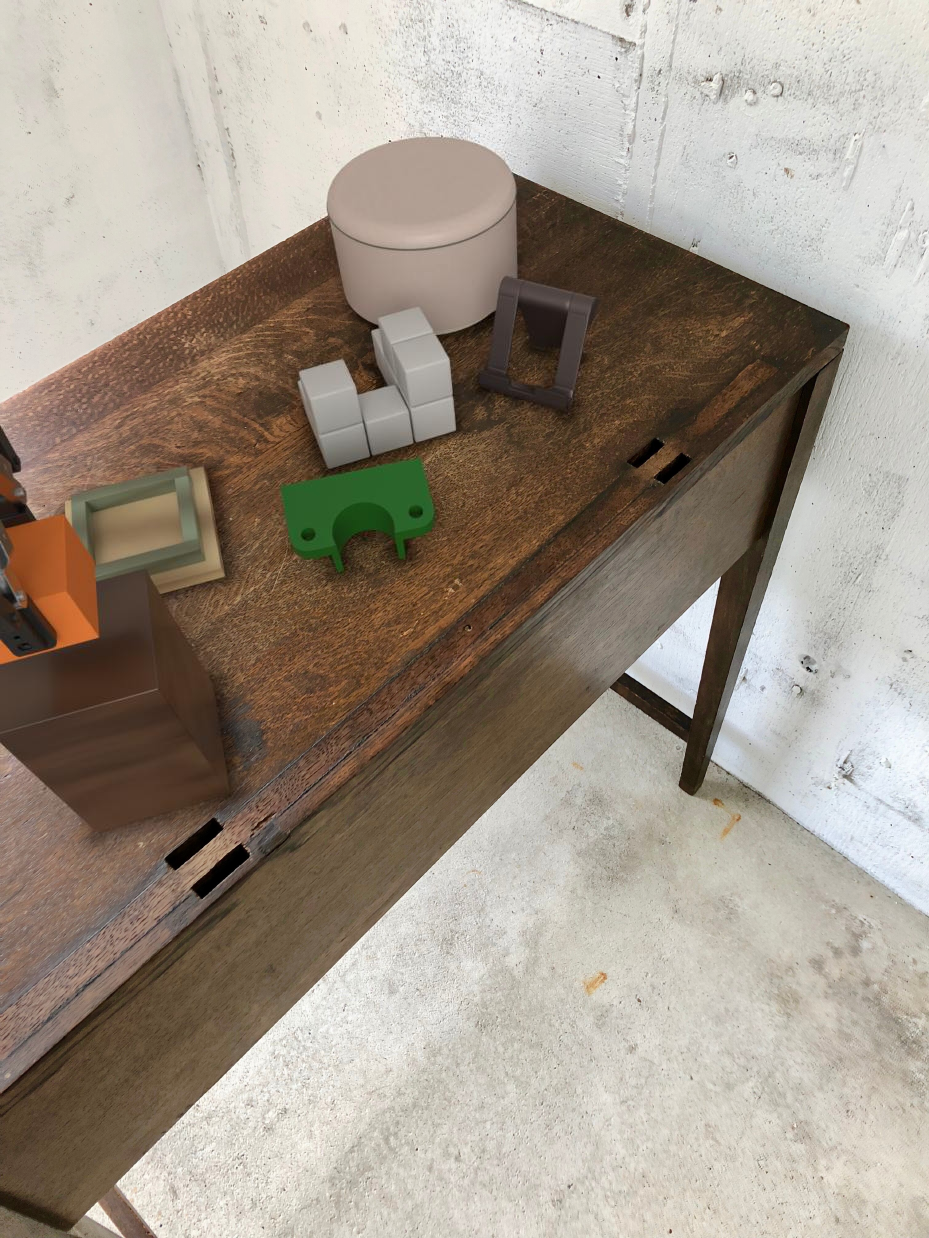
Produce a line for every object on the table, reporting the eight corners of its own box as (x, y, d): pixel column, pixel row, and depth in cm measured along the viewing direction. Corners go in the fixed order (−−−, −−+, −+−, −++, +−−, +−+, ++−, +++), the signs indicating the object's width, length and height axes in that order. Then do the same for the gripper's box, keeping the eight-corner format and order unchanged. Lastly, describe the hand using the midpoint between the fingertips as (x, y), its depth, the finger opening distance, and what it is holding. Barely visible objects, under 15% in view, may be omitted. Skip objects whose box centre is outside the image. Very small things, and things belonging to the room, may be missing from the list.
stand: (230, 794, 59) (158, 688, 48) (97, 833, 58) (-9, 735, 47) (214, 685, 64) (145, 567, 53) (91, 720, 63) (-6, 607, 52)
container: (452, 221, 98) (443, 112, 88) (554, 295, 89) (556, 182, 79) (313, 285, 93) (288, 176, 83) (407, 370, 84) (391, 259, 74)
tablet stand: (477, 391, 81) (472, 314, 74) (513, 341, 85) (511, 263, 78) (564, 417, 79) (567, 339, 72) (598, 364, 82) (604, 285, 76)
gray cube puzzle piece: (414, 353, 85) (405, 280, 79) (456, 431, 78) (450, 358, 72) (295, 387, 83) (275, 315, 77) (328, 470, 77) (309, 399, 70)
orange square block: (99, 637, 46) (66, 591, 43) (-7, 666, 45) (-49, 622, 42) (94, 561, 49) (63, 513, 46) (-6, 587, 48) (-44, 540, 45)
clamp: (335, 596, 74) (272, 563, 66) (323, 534, 76) (261, 495, 68) (462, 543, 70) (411, 502, 62) (445, 480, 73) (395, 432, 64)
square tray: (225, 576, 70) (215, 555, 68) (75, 617, 69) (60, 596, 67) (207, 475, 77) (197, 453, 75) (70, 510, 76) (56, 488, 74)
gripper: (-242, 252, 36) (-30, 524, 50) (-320, 489, 28) (-41, 736, 42) (-57, 214, 37) (102, 491, 51) (-80, 432, 29) (117, 692, 43)
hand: (37, 601), depth 46 cm, fingers closed on orange square block, 5 cm apart
